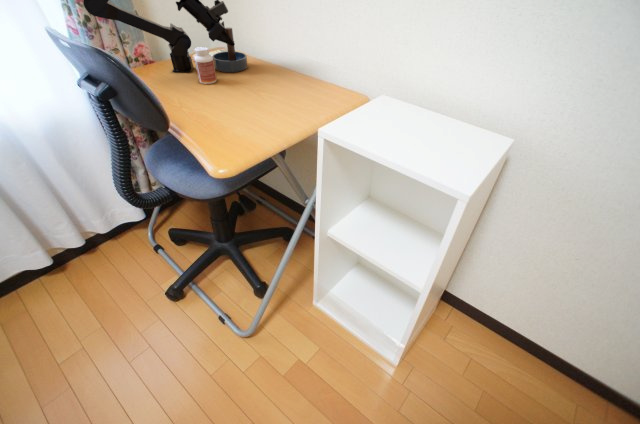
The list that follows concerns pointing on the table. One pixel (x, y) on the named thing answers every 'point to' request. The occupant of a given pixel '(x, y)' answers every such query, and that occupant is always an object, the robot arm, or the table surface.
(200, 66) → the pill bottle
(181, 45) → the robot arm
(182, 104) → the table surface
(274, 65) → the table surface
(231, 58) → the stick
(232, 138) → the table surface
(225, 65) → the bowl
